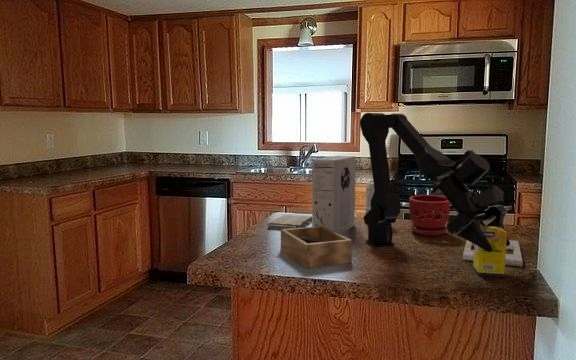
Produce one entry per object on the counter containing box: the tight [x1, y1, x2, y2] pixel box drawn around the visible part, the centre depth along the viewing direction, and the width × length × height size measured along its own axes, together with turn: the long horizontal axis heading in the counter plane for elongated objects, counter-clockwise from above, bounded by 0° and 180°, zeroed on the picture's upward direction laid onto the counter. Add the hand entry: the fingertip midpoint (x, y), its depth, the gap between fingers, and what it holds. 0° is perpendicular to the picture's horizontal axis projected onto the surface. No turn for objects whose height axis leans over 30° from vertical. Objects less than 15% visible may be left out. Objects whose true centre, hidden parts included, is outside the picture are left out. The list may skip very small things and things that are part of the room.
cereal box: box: [311, 155, 357, 235], centre depth 150 cm, size 22×8×25 cm, turn 154°
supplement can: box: [365, 181, 374, 215], centre depth 163 cm, size 8×8×15 cm
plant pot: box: [408, 194, 451, 236], centre depth 148 cm, size 13×13×12 cm
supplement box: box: [472, 225, 508, 278], centre depth 107 cm, size 6×6×11 cm
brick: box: [299, 236, 332, 244], centre depth 123 cm, size 11×4×5 cm, turn 56°
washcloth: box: [266, 214, 312, 231], centre depth 161 cm, size 12×18×3 cm, turn 161°
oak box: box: [280, 226, 353, 269], centre depth 121 cm, size 13×18×6 cm
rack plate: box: [462, 239, 524, 267], centre depth 125 cm, size 22×14×2 cm, turn 155°
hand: (500, 248), depth 105 cm, fingers closed on supplement box, 8 cm apart
